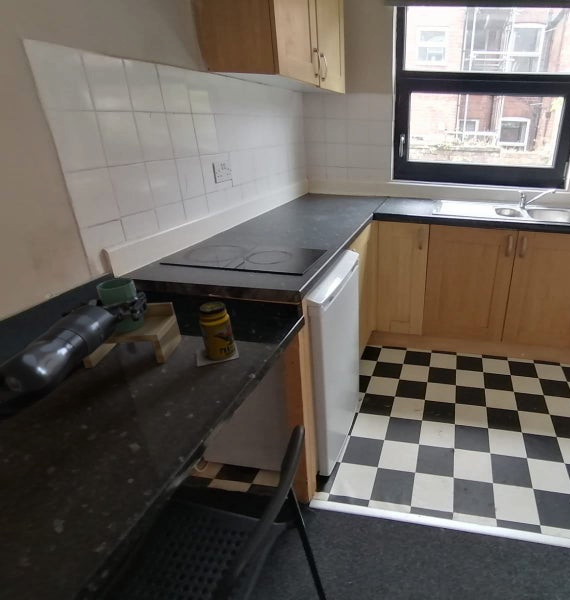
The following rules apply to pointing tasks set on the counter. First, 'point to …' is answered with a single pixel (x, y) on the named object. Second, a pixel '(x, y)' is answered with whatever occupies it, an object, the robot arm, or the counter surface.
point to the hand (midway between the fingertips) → (125, 296)
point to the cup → (117, 292)
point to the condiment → (215, 335)
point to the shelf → (146, 334)
